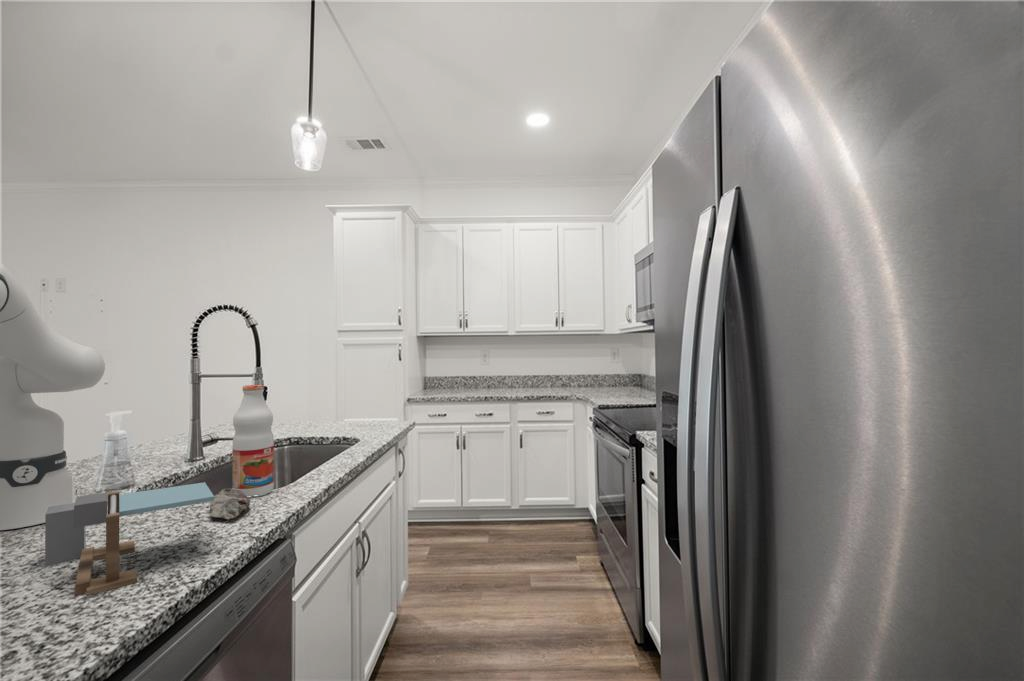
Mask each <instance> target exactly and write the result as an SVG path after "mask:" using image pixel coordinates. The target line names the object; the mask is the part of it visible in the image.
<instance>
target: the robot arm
mask: <svg viewBox="0 0 1024 681" xmlns="http://www.w3.org/2000/svg"><path fill="white" fill-rule="evenodd" d="M105 369H106V364H105V360H104V357H103V356H102V355H101V353H100V352H99V351H98V350H96V349H95V347H91V346H87V345H84V344H81V343H78V342H76V341H74V340H71V339H70V338H67V337H65V336H64V335H62V334H60V333H58V332H57V331H56V330H54V329H53V328H51V326H49V325H47V324H46V322H44V320H43V319H42V318H41V316H40V314H38V311H37V310H36V309H35V307H34V305H33V303H32V301H31V300H30V298H29V296H28V294H27V293H26V291H25V290H24V288H23V287H22V285H21V283H20V282H19V281H18V279H17V278H16V277H15V276H14V275H13V273H12V272H11V271H10V270H9V269H8V268H7V267H6V266H5V265H4V264H3V263H2V262H1V261H0V531H6V530H14V529H21V528H25V527H32V526H35V525H36V526H37V525H40V524H45V514H46V512H47V510H48V508H49V507H52V506H58V505H64V504H71V503H75V501H76V498H77V497H78V495H77V493H78V491H77V489H76V488H75V475H74V474H72V472H69V471H68V470H67V469H66V467H67V460H68V456H67V452H66V450H64V447H65V446H64V444H65V443H64V442H65V441H64V440H65V438H64V436H65V435H64V434H65V433H64V430H65V426H64V425H65V424H64V423H65V421H64V420H63V418H62V417H61V416H60V415H59V414H58V413H56V412H55V411H54V410H53V411H52V410H50V409H47V408H43V407H41V406H39V405H38V404H37V403H36V402H35V401H34V399H33V397H32V394H42V393H43V394H45V393H47V394H48V393H49V394H51V393H68V392H73V391H78V390H79V391H81V390H84V389H89V388H90V389H91V388H93V387H95V385H97V384H98V383H99V382H100V381H101V379H102V378H103V376H104V374H105Z"/></svg>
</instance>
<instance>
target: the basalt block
mask: <svg viewBox="0 0 1024 681" xmlns="http://www.w3.org/2000/svg"><path fill="white" fill-rule="evenodd" d="M74 505H75V503H71V504H64V505H58V506H52V507H49V508H48V510H47V512H46V514H45V523H44V524H45V526H44V532H45V536H44V543H45V545H44V552H45V553H44V563H45V564H44V566H45V567H49V566H53V564H54V565H57V563H58V564H62V563H61V562H63V563H67V562H71V561H70V560H72V561H75V559H76V560H80V559H79V558H80V557H81V552H82V549H85V548H87V547H86V545H87V542H86V541H87V526H83V527H77V528H73V524H74ZM66 561H67V562H66ZM48 565H49V566H48Z"/></svg>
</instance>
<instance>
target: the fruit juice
mask: <svg viewBox="0 0 1024 681" xmlns="http://www.w3.org/2000/svg"><path fill="white" fill-rule="evenodd" d="M241 390H242V393H243V397H242V400H241V403H240V406H239V408H238V410H237V411H236V412H235V414H234V415H233V419H232V420H233V422H232V423H233V424H232V425H233V427H234V430H235V431H234V435H233V439H232V447H231V448H232V489H236V490H241V491H242V492H243V493H244V494H245V495H246V496H254V495H258V496H254V497H247V498H248V499H249V498H257V497H261V496H265V495H268V494H271V492H273V490H274V486H275V476H274V474H275V469H274V468H275V467H274V466H275V465H274V464H275V463H274V462H275V460H274V458H275V457H274V456H275V454H274V452H275V451H274V447H275V445H274V444H275V440H274V434H273V432H272V425H273V422H274V418H273V417H274V415H273V412H272V411H271V410H270V409H269V406H268V404H267V402H266V400H265V396H264V391H265V385H263V384H250V385H249V384H248V385H243V386H242V388H241ZM267 493H268V494H267ZM261 494H262V495H261Z"/></svg>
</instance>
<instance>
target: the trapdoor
mask: <svg viewBox="0 0 1024 681" xmlns="http://www.w3.org/2000/svg"><path fill="white" fill-rule="evenodd" d="M108 493H109V492H101V493H95V494H94V493H93V494H87V495H80V496H78V495H77V498H76V501H75V505H74V524H73V528H77V527H83V526H86V527H88V526H95V525H100V524H106V515H108ZM214 496H215V495H214V494H213V492H212V491H211V489H210V488H209V486H208V485H207V483H206V482H205V481H204V482H198V483H191V484H183V485H178V486H169V487H164V488H155V489H149V490H143V491H134V492H130V493H128V492H127V493H121V494H120V493H119V518H120V517H126V516H132V515H138V514H143V513H145V514H146V513H151V512H156V511H162V510H169V509H173V508H180V507H185V506H192V505H197V504H203V503H210V501H214ZM114 513H116V495H112V496H111V501H110V514H114Z"/></svg>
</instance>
